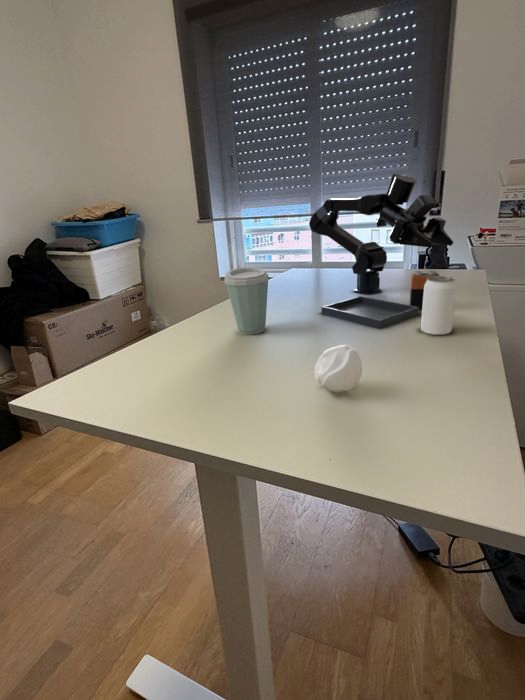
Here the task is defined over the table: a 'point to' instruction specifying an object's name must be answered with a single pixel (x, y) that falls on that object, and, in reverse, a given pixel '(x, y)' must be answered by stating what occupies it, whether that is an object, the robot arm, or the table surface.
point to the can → (438, 305)
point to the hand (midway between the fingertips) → (442, 244)
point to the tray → (370, 311)
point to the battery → (419, 287)
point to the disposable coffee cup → (248, 298)
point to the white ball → (338, 368)
